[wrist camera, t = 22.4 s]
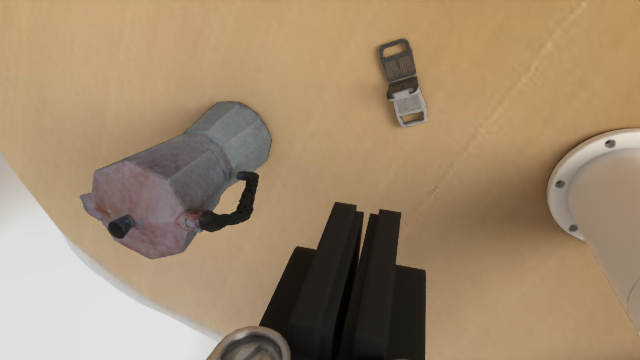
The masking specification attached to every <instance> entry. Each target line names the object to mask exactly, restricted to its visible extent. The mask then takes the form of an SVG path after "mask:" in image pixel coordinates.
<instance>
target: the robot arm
mask: <svg viewBox="0 0 640 360" xmlns="http://www.w3.org/2000/svg"><path fill="white" fill-rule="evenodd" d="M607 140H609V141H608V142H606V141H607ZM557 181H559V182H557ZM546 193H547V203H548V206H549V209H550V212H551V214H552V216H553V218H554V220H555V221H556V222H557V223H558V224H559V226H560V227H561V228H562V229H563V230H565V231H566V232H567V233H568V234H570V235H572V236H574V237H576V238H578V239H580V240H583V241H586V242H587V244H588V246H589V248H590V250H591V251H592V253H593V255H594V257H595V258H596V260H597V262H598V264H599V266H600V267H601V269H602V271H603V273H604V274H605V276H606V278H607V280H608V282H609V283H610V285H611V287H612V289H613V291H614V292H615V294H616V296H617V298H618V299H619V301H620V303H621V305H622V307H623V308H624V310H625V312H626V314H627V315H628V317H629V319H630V321H631V322H632V324H633V326H634V327H635V329H636V331H637V333H638V334H639V336H640V128H629V129H620V130H614V131H609V132H606V133H603V134H600V135H597V136H594V137H592V138H590V139H588V140H586V141H584V142H583V143H581V144H579V145H578V146H576V147H575V148H574V149H572V150H571V151H569V152H568V153H567V154H566V155H565V156H564V157H563V158H562V159H561V160H560V161H559V163H558V164H557V166H556V167H555V169H554V170H553V172H552V174H551V176H550V179H549V181H548V186H547V191H546ZM356 208H357V206H356V205H352V204H346V203H339V202H335V204H334V206H333V208H332V211H331V214H330V216H329V219H328V221H327V224H326V226H325V229H324V232H323V234H322V237H321V239H320V242H319V244H318V247H317V250H315V249H309V248H304V247H299V246H297V247H296V248H295V249H294V251H293V253H292V255H291V257H290V259H289V262H288V264H287V266H286V268H285V270H284V272H283V275H282V277H281V279H280V281H279V283H278V285H277V287H276V290H275V292H274V294H273V296H272V298H271V300H270V302H269V305H268V307H267V309H266V311H265V313H264V315H263V317H262V320H261V322H260V324H259V326H248V327H244V328H241V329H237V330H235V331H233V332H232V333H230V334H228V335H227V336H225V337H224V338H223V339H222V340H221V341H220V342H219V344H218V345H217V346H216V347H215V349H214V350H213V352H212V353H211V354H210V355H209V357H208V358H207V359H206V360H425V314H426V272H425V270H422V269H417V268H411V267H406V266H401V265H396V256H397V246H398V237H399V228H400V219H401V212H395V211H389V210H382V209H380V210H379V215H378V214H372V213H370V217H369V221H368V225H367V230H366V234H365V238H364V243H363V247H362V251H361V256H360V260H359V252H360V243H361V234H362V225H363V217H364V212H360V211H356ZM358 260H359V264H358Z"/></svg>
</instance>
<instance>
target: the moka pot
mask: <svg viewBox="0 0 640 360" xmlns="http://www.w3.org/2000/svg"><path fill="white" fill-rule="evenodd" d="M270 145H271V137H270V134H269V132H268V129H267V127H266V125H265V123H264V122H263V121H262V119H261V118H260V117H259V115H258V114H257V113H255V112H254V111H253V110H251V109H250V108H248V107H247V106H245V105H243V104H242V103H239V102H219V103H216V104H215V105H214V106H213V107H212V108H211V109H210V110H209V111H207V112H206V113H205V114H204V115H203V116H202V117H201V118H200V119H199V120H197V121H196V122H195V123H194V124H193V125H192V126H191V127H190V128H189V129H188V130H186V131H185V132H184V133H183V134H182V135H180V136H178V137H176V138H173V139H171V140H168V141H166V142H163V143H161V144H158V145H156V146H153V147H151V148H149V149H146V150H144V151H141V152H139V153H136V154H134V155H132V156H129V157H127V158H124V159H122V160H120V161H117V162H115V163H113V164H110V165H108V166H106V167H103V168H101V169H98V170H96V171H95V172H94V175H93V188H92V193H88V194H83V195H80V199H81V200H82V203H83V207H84V209H85V210H86V212H87V213H88V214H89V215H91V216H93V217H94V218H96V219H98V220H100V221H102V223H103V224H104V225H105V227H106V228H107V230H108V231H109V233H110V234H111V236H112V237H113V239H114V240H115V241H116V242H118V243H120V244H122V245H124V246H125V247H127V248H129V249H131V250H133V251H135V252H137V253H139V254H141V255H143V256H145V257H147V258H149V259H156V258H161V257H166V256H170V255H175V254H179V253H182V252H184V251H185V249H186V248H187V247H188V245H189V244H190V242H191V241H192V240H193V238H194V237H195V235H196V234H197V232H202V231H203V230H206V231H209V232H214V231H217V230H220V229H222V228H224V227H225V226H227V225H235V224H239V223H240V222H244V221H246V220H248V219H249V218H250V215H251V214H252V211H253V203H254V200H255V197H254V196H255V194H256V188H257V186H258V179H259V175H258V174H257V173H254V172H253V171H254V170H256V169H257V168H258V167H260V166H261V165H262V164H263V163H265V162H266V161H267V158H268V155H269V151H270ZM239 180H245V181H246V188H245V189H244V191H243V194H242V195H241V198H240V200H239V202H240V203H239V204H238V206H237V210H236V211H235V212H232V213H231V214H222V215H218V214H215V213H214V212H213V210H214V209H215V207H216V206H217V204H218V203H219V200H220V197H221V195H222V193H223V192H224V191H225V190H226V189H227V188H228V187H230V186H231V185H233V184H234V183H236V182H238V181H239Z"/></svg>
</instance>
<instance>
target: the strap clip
mask: <svg viewBox="0 0 640 360" xmlns="http://www.w3.org/2000/svg"><path fill="white" fill-rule="evenodd" d="M400 43H405V45H406V48H407V50H408V51H406V52H403V53H400V54H397V55H394V56H391V57H388V58H384V53H383V49H385V48H388V47H391V46H394V45H397V44H400ZM379 53H380V60H381V63H382V66H383V68H384V71H385V74H386V77H387V80H388V81H389V82H391V84H390V85H389V86H388V90H387V94H386V95H387V99H388V101H390V102H391V101H393V104H394V108H395V113H396V117H397V120H398V122H399V124H400V125H401V127H403V128H405V127H409V126H413V125H417V124H421V123H425V122H426V121H427V108H426V105H425V102H424V99H423V96H422V93H421V90H420V88H419V85H418V80H417V77H414V76H413V75H415V74H416V70H415V64H414V59H413V54H412V49H411V47H410V45H409V43H408V41H407V40H406V39H400V40H397V41H394V42H391V43H388V44H385V45H382V46H381V47H380V49H379ZM421 111H423V114H424V118H421V119H418V120H414V121H410V122H406V123H405V122H403V120H402V117H403V116H406V115H410V114H414V113H418V112H421Z"/></svg>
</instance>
